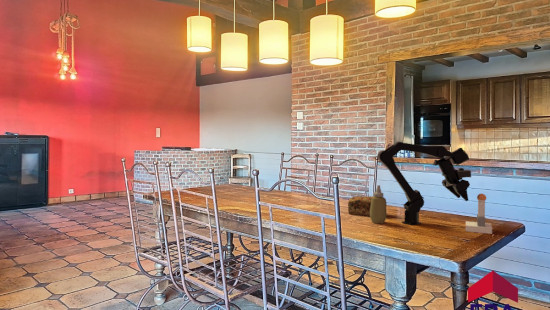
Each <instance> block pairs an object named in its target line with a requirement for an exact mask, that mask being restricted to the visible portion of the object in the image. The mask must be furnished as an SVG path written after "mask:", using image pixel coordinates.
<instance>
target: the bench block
mask: <svg viewBox="0 0 550 310" xmlns="http://www.w3.org/2000/svg"><path fill="white" fill-rule="evenodd" d="M465 232H469V233H479V234H489V235H490V234H491V235H492V234H493V225H492V223H490V222H489V223H488V222H486V216H485V217H478V213H477V214H476V221H467V220H465Z"/></svg>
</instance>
